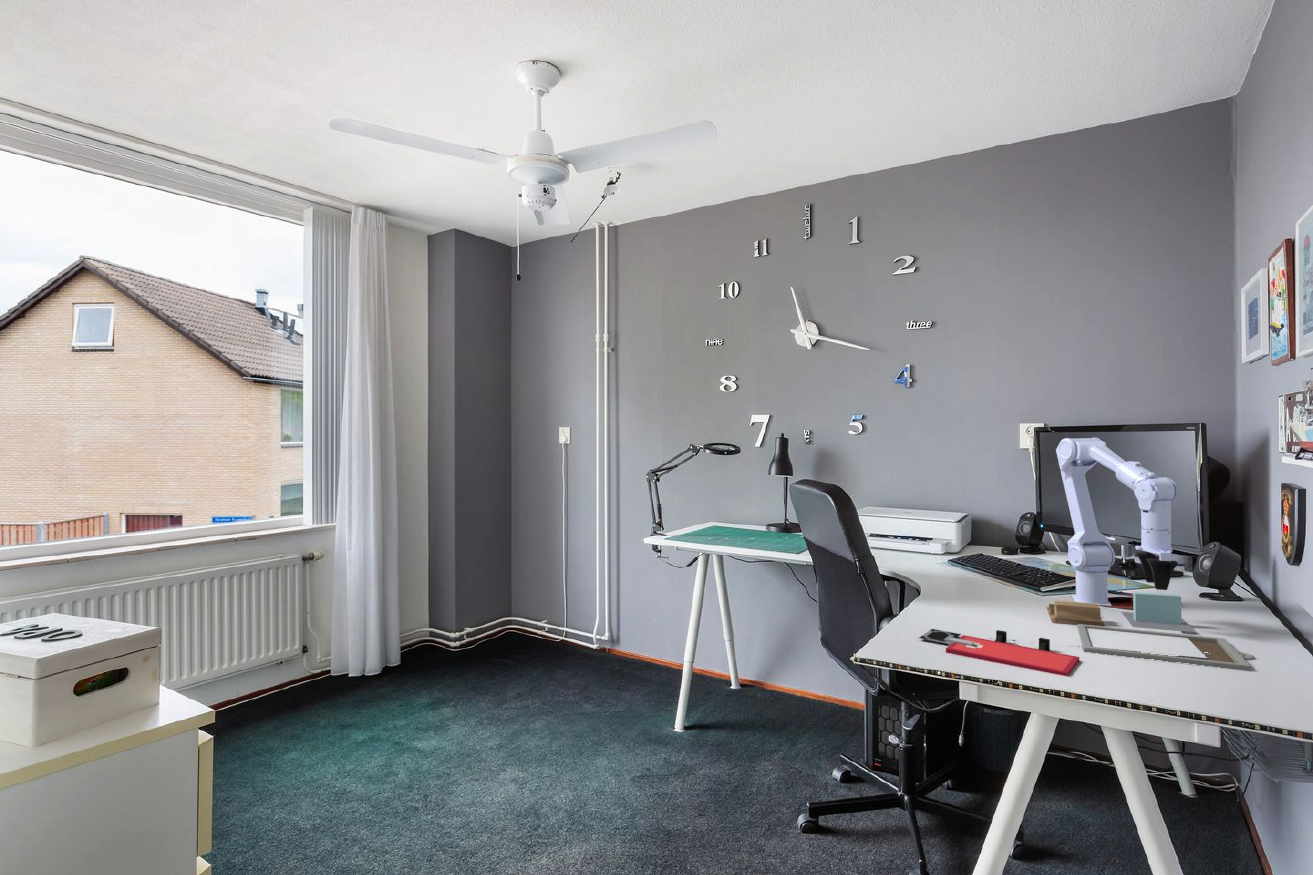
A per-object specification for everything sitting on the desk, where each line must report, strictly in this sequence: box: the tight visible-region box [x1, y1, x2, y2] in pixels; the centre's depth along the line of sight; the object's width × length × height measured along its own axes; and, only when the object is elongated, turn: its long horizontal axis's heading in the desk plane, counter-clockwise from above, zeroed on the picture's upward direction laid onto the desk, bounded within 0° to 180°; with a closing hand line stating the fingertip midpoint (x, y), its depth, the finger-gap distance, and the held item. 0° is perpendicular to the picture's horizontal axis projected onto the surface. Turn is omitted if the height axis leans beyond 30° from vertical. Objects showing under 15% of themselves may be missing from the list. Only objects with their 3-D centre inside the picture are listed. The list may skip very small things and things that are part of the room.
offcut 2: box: [1055, 603, 1101, 621], centre depth 164 cm, size 2×9×4 cm, turn 65°
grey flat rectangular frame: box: [1076, 624, 1255, 672], centre depth 146 cm, size 19×2×30 cm
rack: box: [1046, 603, 1107, 627], centre depth 168 cm, size 16×11×2 cm
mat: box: [1121, 611, 1198, 635], centre depth 163 cm, size 14×12×1 cm
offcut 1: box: [1053, 599, 1100, 616], centre depth 166 cm, size 2×9×4 cm, turn 65°
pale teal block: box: [1132, 591, 1182, 624], centre depth 163 cm, size 2×9×6 cm, turn 68°
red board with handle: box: [918, 628, 1080, 677], centre depth 146 cm, size 30×3×15 cm
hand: (1156, 585), depth 163 cm, fingers open, 7 cm apart
